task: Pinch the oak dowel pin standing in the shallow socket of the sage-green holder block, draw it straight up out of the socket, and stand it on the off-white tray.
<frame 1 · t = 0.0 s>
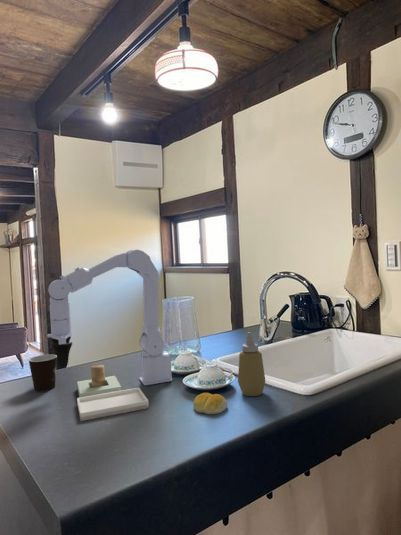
hand: (63, 363, 119), 10 cm above the counter, tool pointing down, fingers open, 7 cm apart
pin holder: (99, 391, 121), on the counter
tray: (112, 406, 109), on the counter
oak pin: (98, 379, 121), in the pin holder
bread roll: (210, 409, 105), on the counter
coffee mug: (47, 387, 129), on the counter
squeeze bottle: (252, 394, 114), on the counter
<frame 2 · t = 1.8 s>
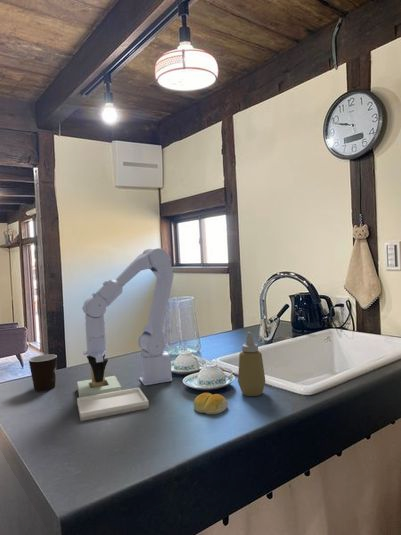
hand: (98, 379, 121), 4 cm above the counter, tool pointing down, fingers closed on oak pin, 4 cm apart
oak pin: (98, 379, 121), in the pin holder, touching gripper
everything else where it was.
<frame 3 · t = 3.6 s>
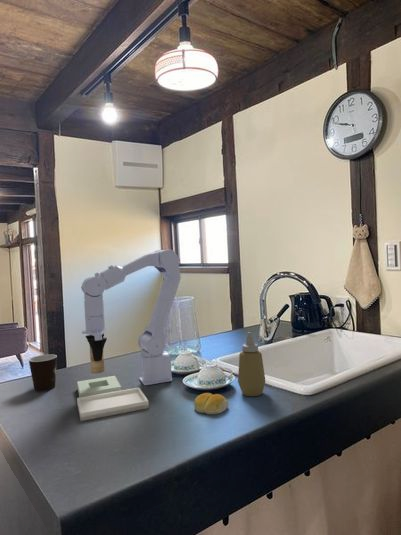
hand: (97, 359, 121), 10 cm above the counter, tool pointing down, fingers closed on oak pin, 4 cm apart
oak pin: (97, 358, 121), point 10 cm above the counter, touching gripper
everything else where it was.
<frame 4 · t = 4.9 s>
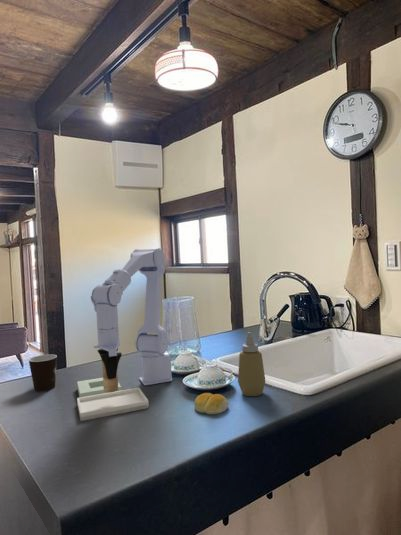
hand: (110, 376, 109), 9 cm above the counter, tool pointing down, fingers closed on oak pin, 4 cm apart
oak pin: (110, 375, 109), point 9 cm above the counter, touching gripper
everything else where it was.
when the fingers open (6 cm above the counter, at t = 5.7 s): oak pin stays where it is, resting on tray.
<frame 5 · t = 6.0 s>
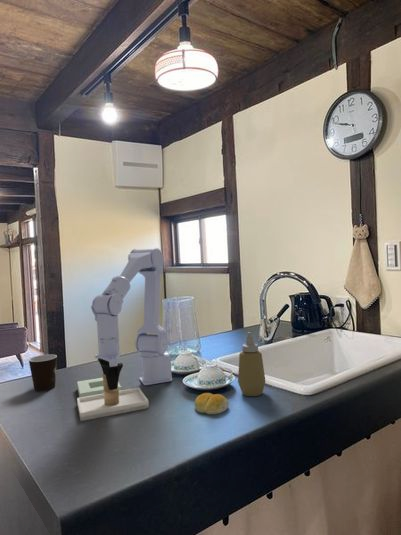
hand: (111, 385, 109), 6 cm above the counter, tool pointing down, fingers open, 6 cm apart
oak pin: (111, 388, 109), in the tray, point 5 cm above the counter
everything else where it was.
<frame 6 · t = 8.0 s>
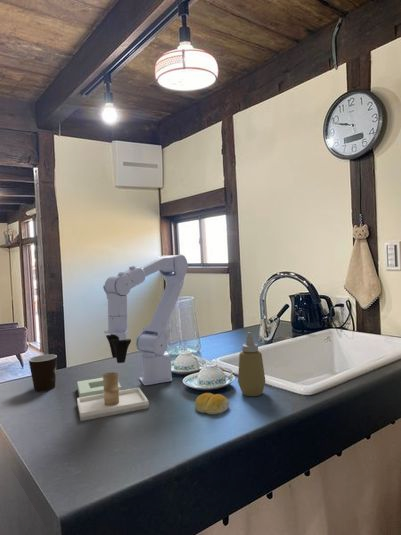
hand: (118, 359, 119), 10 cm above the counter, tool pointing down, fingers open, 7 cm apart
nothing on the counter moved.
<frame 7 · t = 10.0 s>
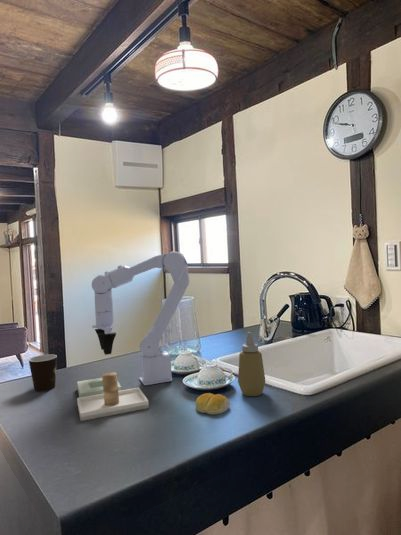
hand: (106, 351, 130), 10 cm above the counter, tool pointing down, fingers open, 7 cm apart
nothing on the counter moved.
at the end: oak pin inside the target area on the tray (0.1 cm from its centre), point 5.1 cm above the tray's base; the gripper is holding nothing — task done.
